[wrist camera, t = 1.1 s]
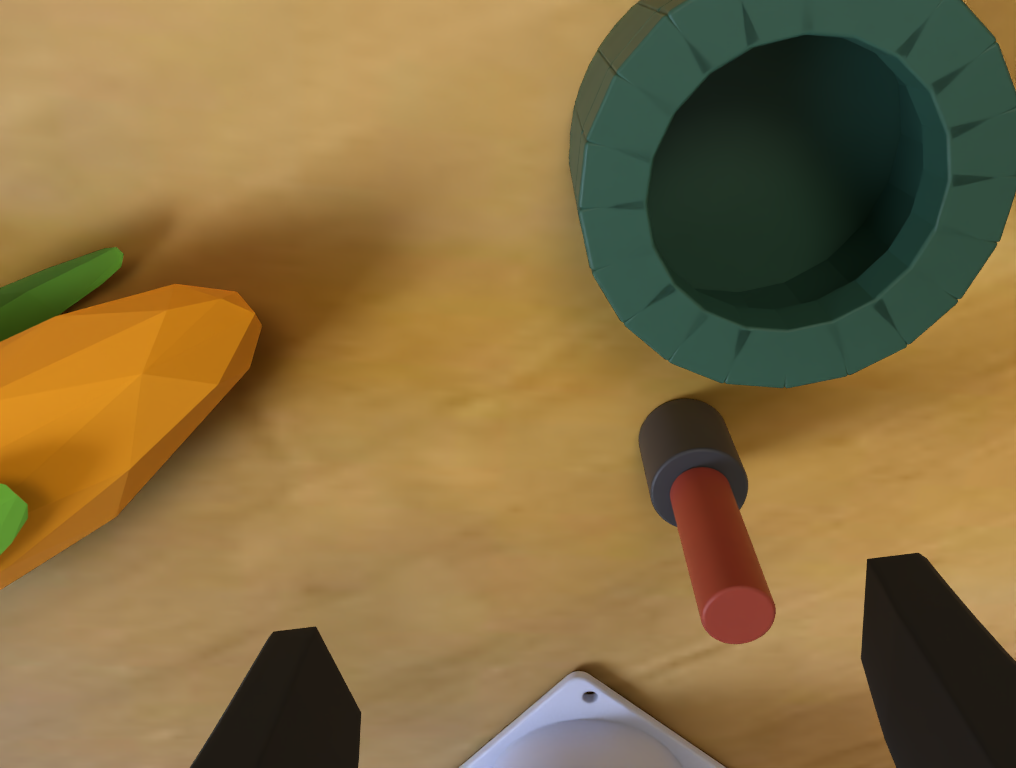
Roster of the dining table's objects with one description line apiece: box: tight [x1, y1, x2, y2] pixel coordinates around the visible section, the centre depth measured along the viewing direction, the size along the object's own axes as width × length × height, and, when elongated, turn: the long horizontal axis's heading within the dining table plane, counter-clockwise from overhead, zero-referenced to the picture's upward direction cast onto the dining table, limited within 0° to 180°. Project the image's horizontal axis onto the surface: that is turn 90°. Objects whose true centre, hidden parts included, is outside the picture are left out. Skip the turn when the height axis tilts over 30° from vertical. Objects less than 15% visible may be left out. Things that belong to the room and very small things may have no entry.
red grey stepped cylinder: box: [639, 399, 776, 644], centre depth 23 cm, size 3×3×8 cm
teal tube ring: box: [569, 0, 1016, 388], centre depth 20 cm, size 9×9×6 cm
